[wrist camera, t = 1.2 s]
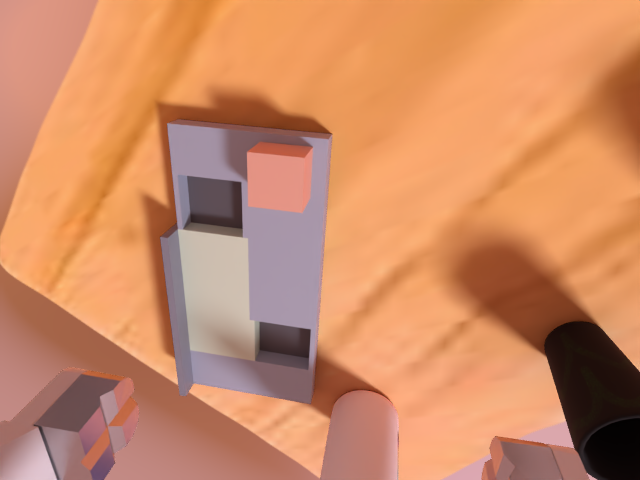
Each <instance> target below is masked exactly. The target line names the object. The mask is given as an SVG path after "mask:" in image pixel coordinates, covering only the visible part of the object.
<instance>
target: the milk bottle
mask: <svg viewBox="0 0 640 480" xmlns="http://www.w3.org/2000/svg"><path fill="white" fill-rule="evenodd" d="M398 448H399V424H398V414H397V411H396V409H395V407H394V406H393V404H392V403H391V402H390V401H389V400H388V399H387V398H385V397H384V396H382V395H380V394H378V393H375V392H373V391H367V390H356V391H351V392H348V393H346V394H344V395H342V396H341V397H340V398H339V399H338V400H337V401H336V403H335V404H334V406H333V410H332V415H331V420H330V425H329V431H328V436H327V442H326V448H325V453H324V459H323V465H322V471H321V477H320V480H398Z"/></svg>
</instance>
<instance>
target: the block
mask: <svg viewBox="0 0 640 480" xmlns="http://www.w3.org/2000/svg"><path fill="white" fill-rule="evenodd" d="M312 159H313V147H310V146H300V145H290V144H280V143H270V142H259V143H258V144H257V145H255V146H254V147H253V148H251V149H250V150H249V151H248V152H247V177H248V207H256V208H265V209H273V210H281V211H289V212H298V213H303V211H304V209H305V207H306V205H307V203H308V202H309V200H310V198H311V178H312Z"/></svg>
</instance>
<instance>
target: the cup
mask: <svg viewBox="0 0 640 480" xmlns="http://www.w3.org/2000/svg"><path fill="white" fill-rule="evenodd" d="M544 347H545V353H546V356H547V359H548V363H549V366H550V369H551V372H552V376H553V379H554V382H555V386H556V389H557V392H558V396H559V399H560V402H561V405H562V409H563V412H564V415H565V419H566V422H567V425H568V428H569V432H570V435H571V438H572V442H573V445H574V448H575V451H576V452H577V453H578V454H579V457H580V459H581V461H582V463H583V466H584V468H585V470H586V472H587V473H588V474H589V475H591V476H592V477H594V478H596V479H597V480H640V372H639V371H638V369H637V368H636V367H635V366H634V365H633V364H632V363H631V362H630V360H629V359H628V358H627V357H626V356H625V355H624V354H623V352H622V351H621V350H620V349H619V348H618V347H617V346H616V345H615V343H614V342H613V341H612V340H611V339H610V338H609V337H608V336H607V334H606V333H605V332H604V331H603V330H602V329H601V328H600V327H598V326H597V325H594V324H592V323H589V322H582V321H580V322H570V323H566V324H563V325H561V326H559V327H557V328H556V329H554V330H553V331H552V332H551V333H550V334H549V335H548V337H547V338H546V341H545V345H544Z"/></svg>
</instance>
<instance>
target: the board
mask: <svg viewBox="0 0 640 480" xmlns="http://www.w3.org/2000/svg"><path fill="white" fill-rule="evenodd" d="M167 128H168V137H169V147H170V157H171V167H172V177H173V186H174V196H175V206H176V216H177V223H176V224H175V225H174V226H172V227H171V228H170V229H169V230H168V231H167V232H165V233H164V234H163V235H162V236H161V237H160V240H161V248H162V256H163V264H164V273H165V281H166V289H167V297H168V305H169V313H170V321H171V329H172V337H173V345H174V353H175V361H176V369H177V377H178V385H179V393H180V395H182V396H186V395H187V394H188V392H189V390H190V389H191V387H192V385H193V383H195V384H201V385H206V386H212V387H218V388H223V389H229V390H234V391H240V392H246V393H251V394H257V395H262V396H268V397H274V398H279V399H285V400H290V401H296V402H302V403H307V404H311V401H312V397H313V393H314V383H315V369H316V355H317V341H318V327H319V313H320V299H321V285H322V270H323V256H324V242H325V228H326V214H327V200H328V186H329V172H330V158H331V143H332V134H326V133H316V132H306V131H295V130H285V129H275V128H264V127H254V126H244V125H233V124H223V123H213V122H202V121H192V120H182V119H177V120H174V121H172V122H169V123H167ZM259 142H270V143H280V144H290V145H300V146H310V147H313V159H312V178H311V198H310V200H309V202H308V203H307V205H306V207H305V209H304V211H303V213H298V212H289V211H281V210H273V209H265V208H256V207H248V177H247V152H248V151H249V150H250V149H251V148H253V147H254V146H255V145H257V144H258V143H259Z"/></svg>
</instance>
